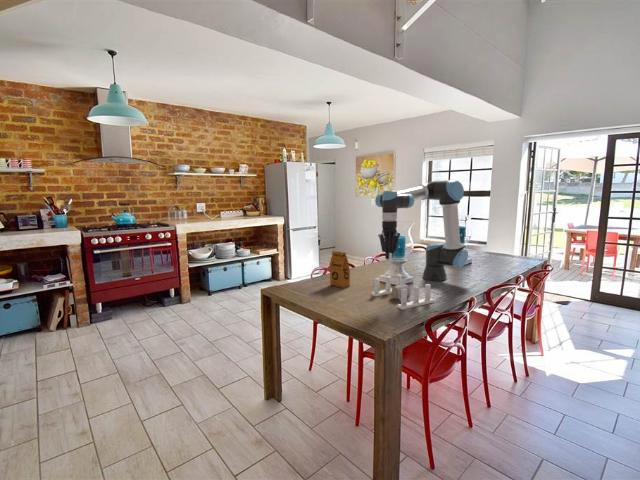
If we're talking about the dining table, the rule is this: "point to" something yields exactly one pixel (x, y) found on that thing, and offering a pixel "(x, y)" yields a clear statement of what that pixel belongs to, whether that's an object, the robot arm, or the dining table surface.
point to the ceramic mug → (397, 291)
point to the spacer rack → (404, 293)
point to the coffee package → (339, 270)
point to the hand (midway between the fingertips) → (388, 264)
